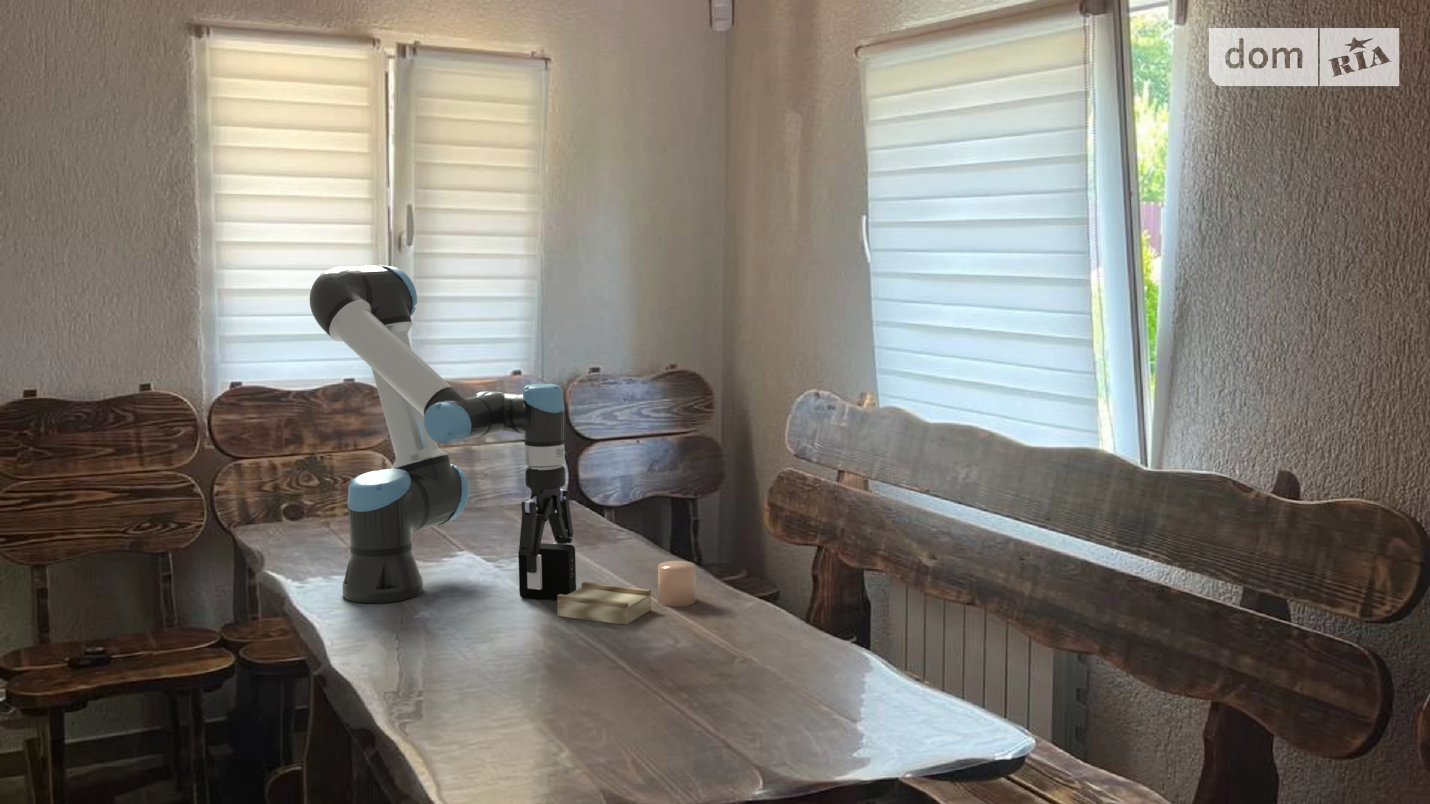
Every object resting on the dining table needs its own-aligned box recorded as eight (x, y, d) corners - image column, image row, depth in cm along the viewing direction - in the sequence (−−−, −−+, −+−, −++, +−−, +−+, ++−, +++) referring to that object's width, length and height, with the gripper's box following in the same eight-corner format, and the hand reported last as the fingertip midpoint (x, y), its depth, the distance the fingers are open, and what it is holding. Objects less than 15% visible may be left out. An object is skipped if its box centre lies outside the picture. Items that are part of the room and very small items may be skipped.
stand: (557, 615, 238) (557, 595, 238) (584, 601, 247) (584, 581, 247) (625, 624, 232) (625, 604, 232) (650, 609, 242) (650, 589, 241)
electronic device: (569, 601, 247) (568, 550, 246) (519, 598, 249) (518, 547, 248) (576, 595, 251) (575, 544, 250) (526, 592, 253) (525, 542, 252)
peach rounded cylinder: (652, 604, 245) (651, 567, 244) (668, 594, 252) (667, 559, 251) (685, 608, 243) (685, 571, 242) (701, 598, 249) (701, 562, 248)
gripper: (532, 477, 236) (535, 598, 239) (590, 458, 255) (592, 570, 258) (496, 474, 239) (500, 594, 242) (556, 455, 258) (559, 567, 261)
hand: (547, 582), depth 250 cm, fingers open, 9 cm apart
